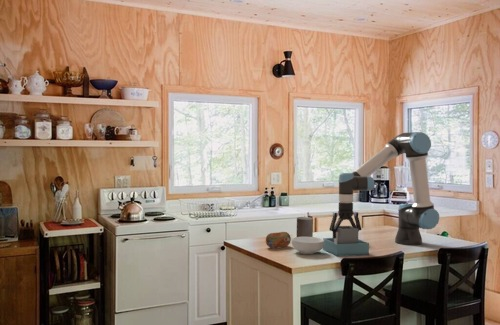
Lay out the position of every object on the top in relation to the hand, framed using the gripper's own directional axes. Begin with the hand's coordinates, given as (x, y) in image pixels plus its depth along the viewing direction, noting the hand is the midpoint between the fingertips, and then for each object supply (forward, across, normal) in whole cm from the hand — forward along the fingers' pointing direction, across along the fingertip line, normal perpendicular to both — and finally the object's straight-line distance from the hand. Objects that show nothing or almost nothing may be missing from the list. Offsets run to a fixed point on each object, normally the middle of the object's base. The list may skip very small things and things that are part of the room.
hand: (345, 243), depth 256 cm
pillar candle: (+5, +10, -34) cm, 36 cm away
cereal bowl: (+5, +20, -3) cm, 21 cm away
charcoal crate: (+1, 0, 0) cm, 1 cm away
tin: (+5, +31, -20) cm, 37 cm away
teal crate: (+4, 0, 0) cm, 4 cm away
